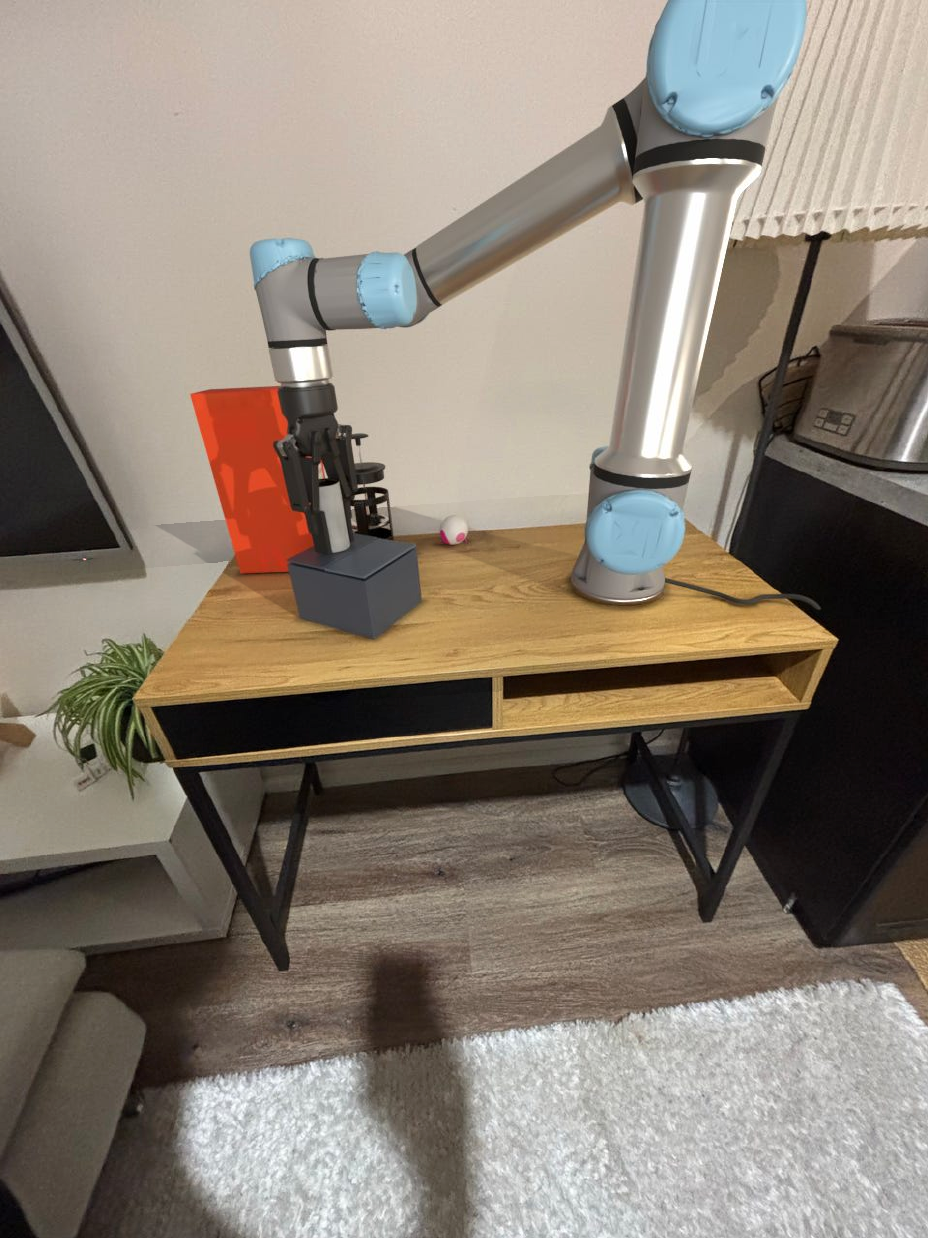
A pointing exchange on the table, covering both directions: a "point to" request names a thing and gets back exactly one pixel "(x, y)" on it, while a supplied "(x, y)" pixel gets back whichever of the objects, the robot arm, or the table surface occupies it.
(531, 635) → the table surface
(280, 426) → the file binder
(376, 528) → the french press
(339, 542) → the gray hollow cylinder
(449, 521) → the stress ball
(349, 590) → the carton
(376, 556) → the flap
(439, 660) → the table surface
